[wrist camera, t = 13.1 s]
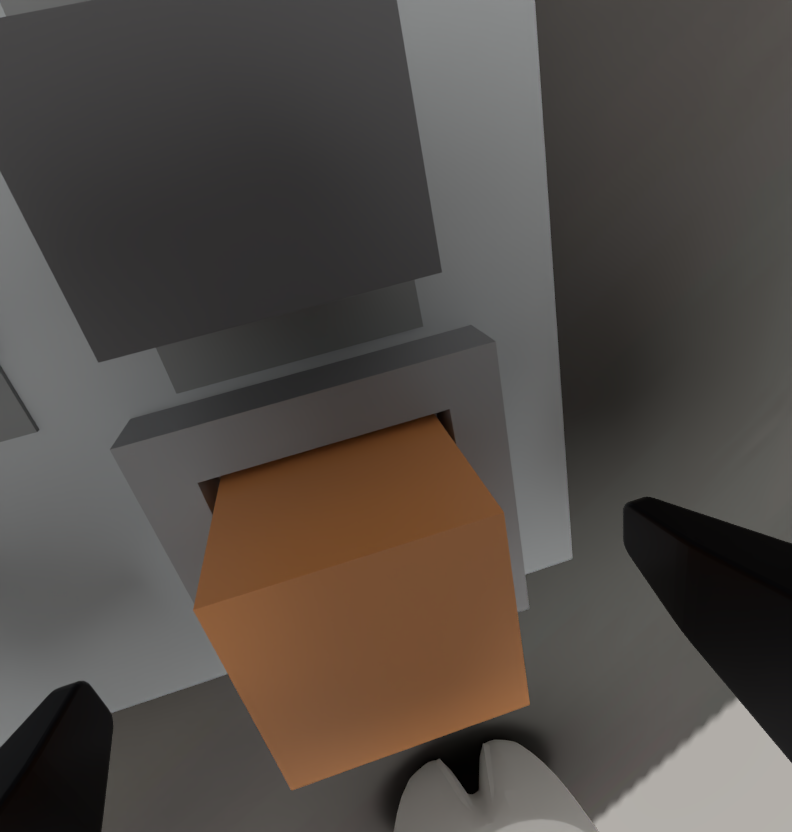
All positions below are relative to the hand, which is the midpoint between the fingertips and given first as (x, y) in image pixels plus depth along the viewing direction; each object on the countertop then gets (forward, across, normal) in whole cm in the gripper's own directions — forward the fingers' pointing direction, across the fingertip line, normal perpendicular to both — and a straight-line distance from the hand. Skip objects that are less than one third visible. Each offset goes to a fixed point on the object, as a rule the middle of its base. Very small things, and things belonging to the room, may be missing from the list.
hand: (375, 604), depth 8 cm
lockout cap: (+3, 0, 0) cm, 3 cm away
